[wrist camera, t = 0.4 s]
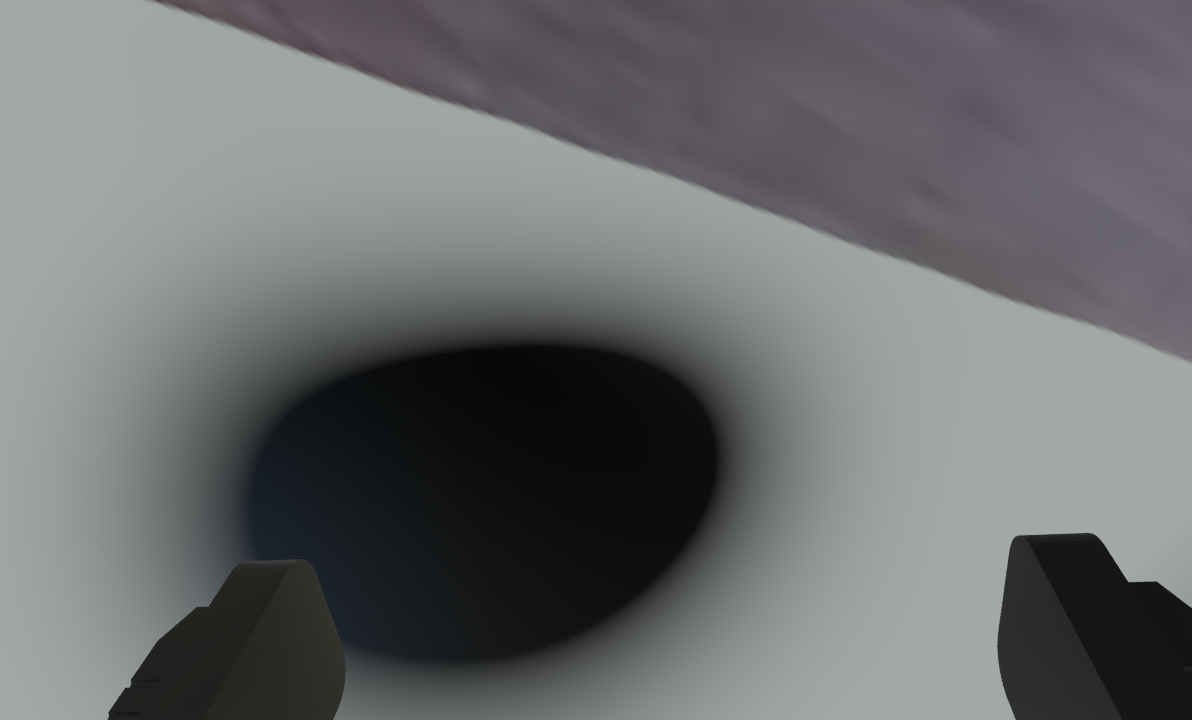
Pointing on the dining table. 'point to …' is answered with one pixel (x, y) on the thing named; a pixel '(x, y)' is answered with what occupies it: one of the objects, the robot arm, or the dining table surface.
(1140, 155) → the dining table surface
